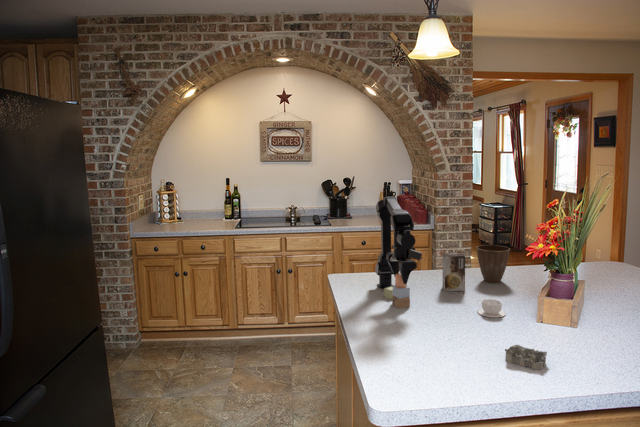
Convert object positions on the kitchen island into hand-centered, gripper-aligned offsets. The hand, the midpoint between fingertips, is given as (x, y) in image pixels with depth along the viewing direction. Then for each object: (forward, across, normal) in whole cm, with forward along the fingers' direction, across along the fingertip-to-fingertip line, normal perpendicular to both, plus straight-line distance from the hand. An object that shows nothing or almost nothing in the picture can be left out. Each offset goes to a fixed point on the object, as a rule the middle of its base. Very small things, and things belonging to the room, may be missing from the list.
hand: (400, 281), depth 186 cm
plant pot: (+10, +21, -55) cm, 60 cm away
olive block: (+10, +11, 0) cm, 15 cm away
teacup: (+11, -18, -30) cm, 36 cm away
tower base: (+10, 0, 0) cm, 10 cm away
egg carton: (+11, -57, -16) cm, 60 cm away
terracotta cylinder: (+2, 0, 0) cm, 2 cm away
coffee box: (+10, +14, -31) cm, 36 cm away
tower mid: (+6, 0, 0) cm, 6 cm away
